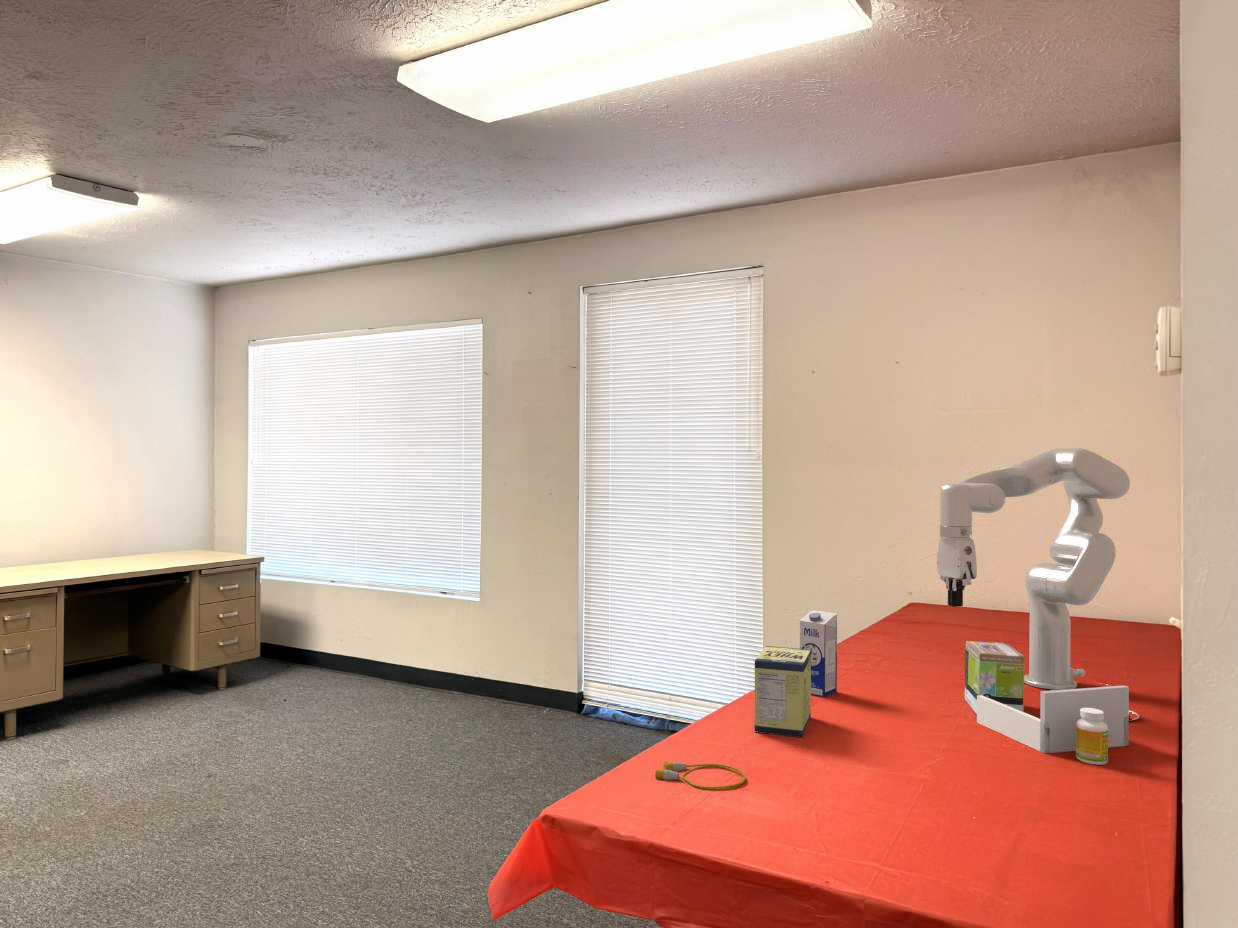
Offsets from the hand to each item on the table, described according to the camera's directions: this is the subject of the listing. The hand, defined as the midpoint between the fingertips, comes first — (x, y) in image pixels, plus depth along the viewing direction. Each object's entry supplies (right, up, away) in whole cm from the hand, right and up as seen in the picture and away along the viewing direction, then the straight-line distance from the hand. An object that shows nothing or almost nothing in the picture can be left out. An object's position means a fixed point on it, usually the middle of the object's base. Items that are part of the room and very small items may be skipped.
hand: (955, 605), depth 206 cm
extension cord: (-69, -22, -56) cm, 92 cm away
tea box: (+3, -22, -14) cm, 26 cm away
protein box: (-48, -22, -26) cm, 59 cm away
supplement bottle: (+8, -22, -47) cm, 52 cm away
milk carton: (-34, -22, +1) cm, 41 cm away
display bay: (+8, -22, -30) cm, 38 cm away
